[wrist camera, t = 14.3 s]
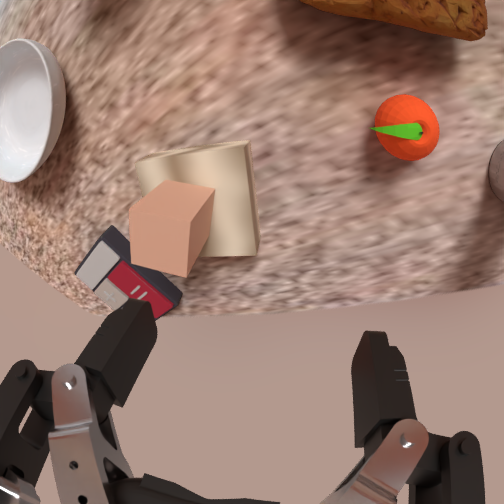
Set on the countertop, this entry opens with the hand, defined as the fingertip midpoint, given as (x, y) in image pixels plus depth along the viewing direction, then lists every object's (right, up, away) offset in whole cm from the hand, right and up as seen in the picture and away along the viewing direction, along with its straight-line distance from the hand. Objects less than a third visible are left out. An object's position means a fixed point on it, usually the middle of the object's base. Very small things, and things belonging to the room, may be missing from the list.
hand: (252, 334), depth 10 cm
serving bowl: (-32, +25, +19) cm, 45 cm away
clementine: (+15, +17, +17) cm, 29 cm away
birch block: (-6, +10, +24) cm, 27 cm away
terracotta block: (-7, +8, +20) cm, 23 cm away
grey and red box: (-19, -1, +33) cm, 38 cm away
